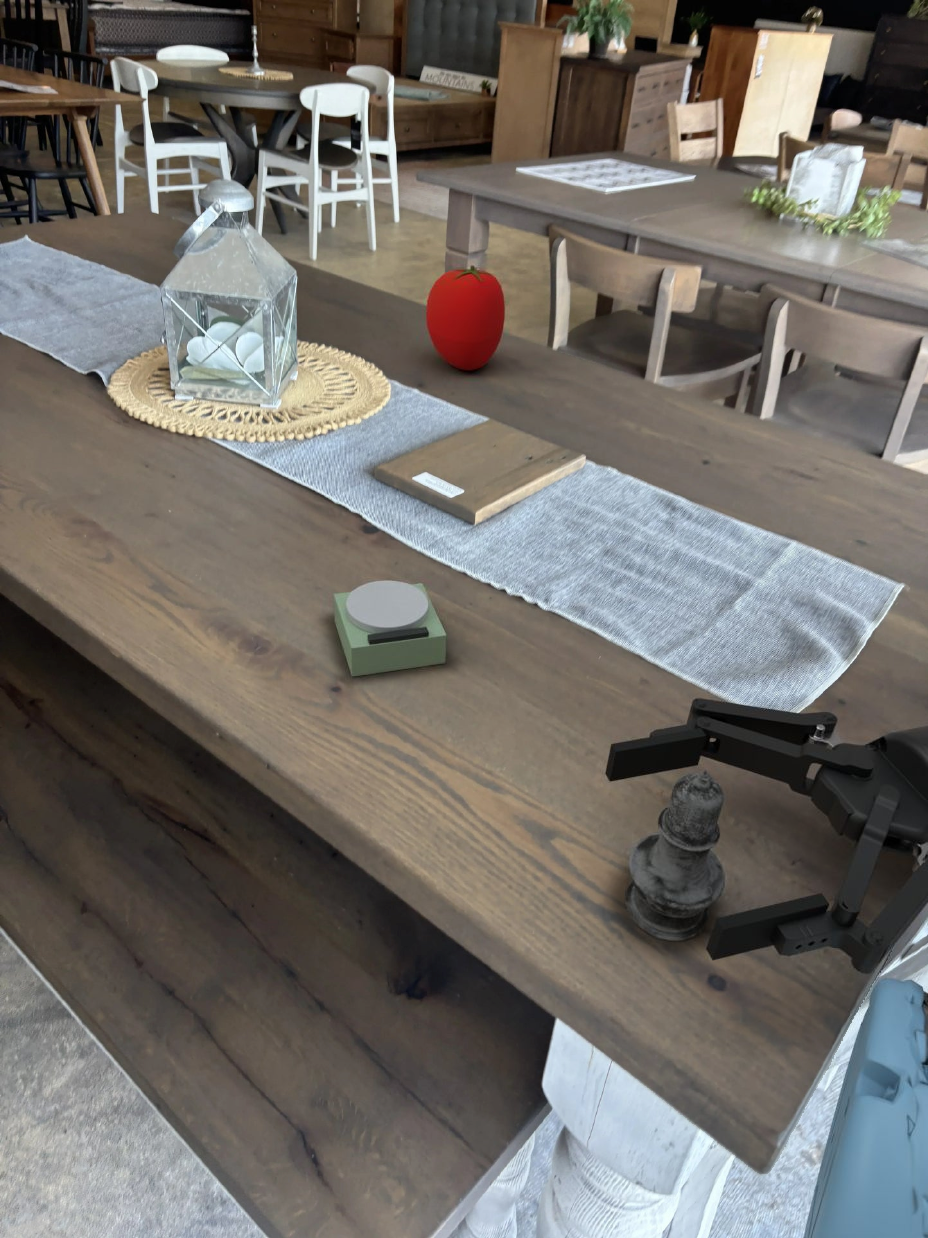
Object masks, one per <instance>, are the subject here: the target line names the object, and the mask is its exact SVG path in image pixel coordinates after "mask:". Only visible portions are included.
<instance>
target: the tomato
mask: <svg viewBox="0 0 928 1238" xmlns="http://www.w3.org/2000/svg"><path fill="white" fill-rule="evenodd" d="M478 268H479V267H478V266H477V267H475V265H473V264H472V265H471V264H470V269H468V268H460V269H459V268H452V269H451V270H450V271H446V272H445V273H442V274H441V276H440V277H439V278H438V279H436V280H435V281H434V283H433V285H432V287H431V288H430V290H429V294H428V297H427V300H426V310H425V318H426V319H425V320H426V321H425V322H426V327H427V332H428V334H429V339H430V340H431V342H432V345H433V347H434V348H435V350H436V352H437V353H438V354H439V356H440V357H442V359H443V360H444V361H445V362H446V363H447V364H448V365H450V366H452V367H454V368H457V369H459V370H460V371H474V370H477V369H479V368H482V367H484V366H485V365H486V364H487V363H488V362H489V361H490V360H491V359H492V357H493V355H494V354H495V352H496V351H497V350H498V346H499V345H500V342H501V339H502V335H503V332H504V326H505V319H506V318H505V317H506V305H505V295H504V292H503V288H502V285H501V283H500V282H499V280H498V279H497V277H496V276H495V273H494V274H493V273H490V272H488V271H486V270H481V269H478Z"/></svg>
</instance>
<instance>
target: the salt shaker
mask: <svg viewBox="0 0 928 1238" xmlns="http://www.w3.org/2000/svg"><path fill="white" fill-rule="evenodd" d="M724 799H725V794H724V790H723V788H722V787H721V785H720V784H719V782H718V781H716V780H715V779H714V778H712V777H711V776H710V774H709V773H708V771H707V770H703V771H699V772H690V773H687V774H684V775H682V776H679V778H678V779H677V780H676V782H675V783H674V785H673V788H672V791H671V796H670V799H669V802H668V806H667V807H665V808H664V809H663V810H662V811H661V812H660V814H659V815H658V819H657V825H658V826H657V827H658V830H659V832H656V833H655V832H654V833H650V834H649V835H647V836H644V837H643V838H641V839H640V840H639V841H637V842H636V843H635V844H634V845H633V847H632V848H631V851H630V853H629V858H628V868H629V873H630V877H631V879H632V880H631V881H630V882H629V883H628V885H627V887H626V890H625V895H624V903H625V909H626V910H627V913H628V915H629V917H630V919H631V920H632V921H633V922H634V923H635V925H636V926H637V927H638V928H640V929H641V930H642V931H643V932H645V933H646V934H648V935H650V936H652V937H654V938H657V939H658V940H659V939H660V940H662V941H667V942H683V941H687V940H691V939H693V938H695V937H697V936H699V934H700V933H701V932H702V931H703V930H704V929H705V927H706V925H707V923H708V920H709V907H710V906H711V905H712V904H714V903H715V902H717V900H718V899H719V898H720V897H721V896H722V894H723V891H724V890H725V886H726V873H725V870H724V866H723V864H722V863H721V861H720V860H719V858H718V857H717V855H716V854H715V853H714V852H713V851H712V850H711V849H712V848H714V847H715V846H716V845H717V844H718V842H719V840H720V838H721V829H720V826H719V824H718V823H719V818H720V815H721V811H722V808H723V806H724V802H725V800H724Z"/></svg>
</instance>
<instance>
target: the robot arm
mask: <svg viewBox="0 0 928 1238" xmlns="http://www.w3.org/2000/svg"><path fill="white" fill-rule="evenodd" d="M688 712H689V713H688V716H687V721H686V724H681V725H674V726H670V727H664V728H658V729H655V730H653V731H651V732H650V733H649V736H648V737H643V738H635V739H631V740H625V741H620V742H615V743H614V742H613V743H611V744H610V747H609V752H608V758H607V763H606V768H605V773H604V774H605V776H606V778H607V779H608V782H609V783H611V782H617V781H622V780H627V779H632V778H633V779H634V778H637V777H643V776H649V775H653V774H659V773H665V772H670V771H675V770H680V769H686V768H689V767H691V768H692V767H697V766H699V765H700V764H699V763H700V760H701V757H704V758H706V759H710V760H713V761H716V762H718V763H722V764H725V765H729V766H732V767H735V768H738V769H741V770H744V771H747V772H750V773H753V774H755V775H760V776H762V777H765V778H768V779H772V780H775V781H778V782H781V783H784V784H787V785H788V786H789V788H790V790H791V791H792V792H793V793H796V794H800V795H803V796H806V797H810V801H811V802H812V804H813V805H814V806H815V807H816V808H817V810H819V811H820V812H821V813H822V814H824V815H825V816H826V817H827V819H828V822H829V823H830V825H831V827H832V829H833V830H834V831H835V832H836V833H837V835H838V836H839V837H841V836H844V837H845V838H847V839H849V840H850V841H853V842H856V843H855V845H854V848H853V851H852V853H851V855H850V858H849V861H848V864H847V867H846V869H845V872H844V875H843V878H842V880H841V882H840V885H839V887H838V891H837V893H836V896H835V897H834V901H833V903H832V906H831V909H830V910H828V909H829V907H830V905H831V904H830V902H829V901H828V900H827V898H826V897H825V896H824V894H823V893H822V892H820V893H815V894H811V895H808V896H804V897H800V898H796V899H795V898H794V899H790V900H787V901H783V902H777V903H773V904H770V905H766V906H762V907H757V908H754V909H749V910H745V911H741V912H737V913H732V914H727V915H724V916H720V917H716V918H715V921H714V923H713V927H712V930H711V932H710V935H709V938H708V941H707V944H706V947H705V951H706V952H707V953H708V955H709V957H710V958H711V961H717V960H720V959H721V960H722V959H724V958H729V957H732V956H736V955H740V954H744V953H748V952H753V951H756V950H760V949H765V948H769V947H774V948H775V950H776V952H777V954H778V955H779V956H785V957H786V956H787V957H791V956H795V955H799V954H803V953H807V952H811V951H815V950H819V949H824V948H828V947H830V948H833V949H839V950H841V951H842V952H843V953H845V955H847V956H848V957H850V962H851V965H852V967H853V968H854V970H856V972H859V973H860V974H864V975H871V974H872V973H874V971H875V970H876V969H877V968H878V967H879V966H880V964H881V962H882V961H883V960H884V959H885V958H886V956H887V955H888V954H889V953H890V951H891V950H892V949H893V948H894V946H895V945H896V944H897V943H898V941H899V940H900V939H901V937H902V936H903V935H904V933H906V931H907V930H908V928H909V927H910V926H911V924H912V923H914V921H915V920H916V919H917V917H918V916H919V914H921V912H922V911H923V910H924V908H925V907H926V906H927V904H928V725H925V726H924V725H923V726H919V727H914V728H909V729H903V730H899V731H893V732H888V733H886V734H884V735H882V736H880V737H878V738H876V739H874V740H872V741H869V742H868V743H865V744H856V743H850V742H845V741H844V740H843V739H842V737H841V736H840V734H839V733H838V731H836V727H837V724H838V717H837V715H836V714H834V713H833V712H829V711H818V712H817V711H815V712H805V713H800V712H793V711H787V710H780V709H776V708H775V709H774V708H766V707H762V706H761V707H760V706H754V705H747V704H741V703H734V702H728V701H721V700H714V699H709V698H708V699H707V698H701V697H700V698H699V697H697V698H694V699H693V700H692V701H691V706H690V709H689V711H688ZM711 739H715V740H713V741H711ZM812 764H817V765H820V766H819V768H818V770H817V771H816V773H815V776H814V778H811V777H808V773H809V770H810V768H811V766H812ZM882 850H885V851H887V852H891V853H895V854H899V855H903V856H905V857H906V856H907V857H913V856H914V858H915V861H914V864H913V865H912V867H911V870H912V875H910V876H909V878H908V879H907V880H906V881H905V882H904V884H903V885H902V886H901V887H900V889H899V890H898V891H897V893H896V894H895V895H894V896H893V897H892V898H891V899H890V901H889V902H888V903H886V905H885V906H884V908H883V909H882V910H881V911H880V913H879V914H878V915H877V916H876V917H875V919H874V920H873V921H872V922H871V923H870V925H868V926H867V925H865V924H864V923H863V922H862V921H860V920H859V919H858V916H859V915H860V913H861V910H862V908H861V907H862V904H863V902H864V898H865V896H866V894H867V893H866V892H867V891H868V890H867V889H868V887H869V885H870V882H871V879H872V876H873V874H874V870H875V868H876V865H877V862H878V860H879V857H880V853H881V851H882ZM859 1025H860V1026H859V1028H858V1031H857V1034H856V1037H855V1041H854V1043H853V1047H852V1051H851V1053H850V1057H849V1061H848V1062H847V1063H848V1064H847V1067H846V1071H845V1073H844V1077H843V1081H842V1084H841V1088H840V1091H839V1096H838V1098H837V1103H836V1106H835V1110H834V1114H833V1117H832V1121H831V1125H830V1128H829V1132H828V1136H827V1140H826V1144H825V1147H824V1151H823V1155H822V1159H821V1163H820V1166H819V1171H818V1175H817V1179H816V1183H815V1186H814V1191H813V1196H812V1199H811V1203H810V1207H809V1211H808V1216H807V1220H806V1225H805V1229H804V1233H803V1238H928V992H927V991H925V990H924V986H922V985H921V984H919V983H918V982H916V981H915V980H913V979H905V980H900V979H896V978H893V977H885V978H882V979H880V980H878V981H877V982H876V983H875V985H874V986H873V989H872V990H871V993H870V995H869V1001H868V1006H867V1009H866V1011H865V1014H864V1015H863V1018H862V1021H861V1023H860V1024H859Z"/></svg>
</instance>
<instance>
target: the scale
mask: <svg viewBox="0 0 928 1238" xmlns="http://www.w3.org/2000/svg"><path fill="white" fill-rule="evenodd" d="M333 609H334V610H333V613H334V624H335V627H336V630H337V633H338V637H339V639H340V643H341V647H342V649H343V653H344V655H345V659H346V662H347V665H348V669H349V671H350V675H351V677H359V676H366V675H367V676H368V675H374V674H381V673H386V672H395V671H401V670H409V669H415V668H420V667H421V668H422V667H429V666H435V665H442V664H446V654H447V636H448V635H447V633H446V631H445V629H444V627H443V624H442V622H441V621H440V618H439V615H438V614H437V612H436V609H435V607H434V606H433V603H432V601H431V599H430V597H429V594H428V593H427V590H426V589H425V586H424V584H423V583H422V582H421V583H412V584H410V583H406V582H404V581H399V580H376V581H370V582H367V583H364V584H362V585H360V586H357V587H356V588H355V589H353V590H352V591H347V592H338V593H333Z"/></svg>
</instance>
